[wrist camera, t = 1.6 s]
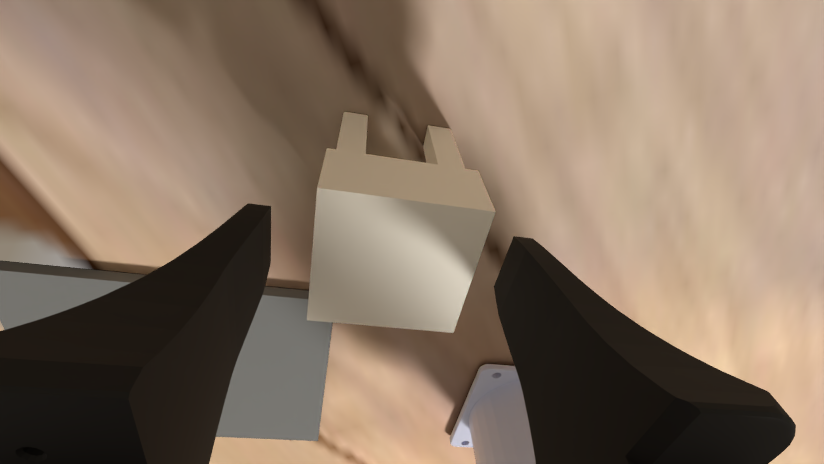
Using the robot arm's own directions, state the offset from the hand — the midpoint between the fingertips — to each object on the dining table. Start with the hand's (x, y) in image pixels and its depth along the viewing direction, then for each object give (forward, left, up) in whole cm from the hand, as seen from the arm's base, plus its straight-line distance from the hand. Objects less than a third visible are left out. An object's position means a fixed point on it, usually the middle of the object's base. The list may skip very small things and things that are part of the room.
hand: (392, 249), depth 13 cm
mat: (+9, +13, -6) cm, 17 cm away
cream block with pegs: (0, 0, -6) cm, 6 cm away
